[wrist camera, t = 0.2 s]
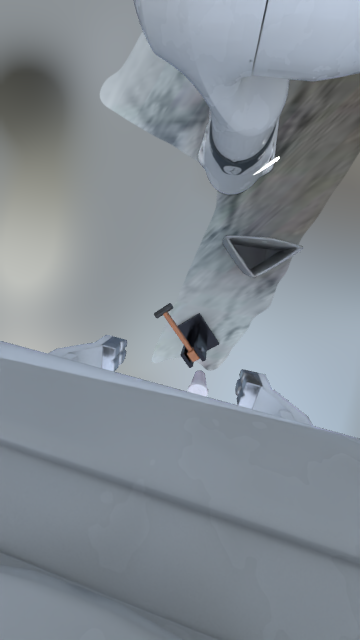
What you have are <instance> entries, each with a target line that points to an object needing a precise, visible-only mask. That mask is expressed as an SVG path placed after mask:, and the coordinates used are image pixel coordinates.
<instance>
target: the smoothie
mask: <svg viewBox="0 0 360 640" xmlns="http://www.w3.org/2000/svg"><path fill="white" fill-rule="evenodd" d="M188 392H191V393H194V394H198V395H202V396H205V397H207V396H208V389H207V386H206V378H205V373H204V372H203V371H196V372H195V375H194V377H193V380H192V382H191V384H190V386H189V387H188Z"/></svg>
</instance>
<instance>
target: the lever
mask: <svg viewBox="0 0 360 640" xmlns="http://www.w3.org/2000/svg"><path fill="white" fill-rule="evenodd" d="M171 309H173V306H172V304H171V303H169V304H168V305H166V306H165V307H163V308H162V309H160V310H159V311H157V312H155V313H154V315H155V317H156V318H159V317H160V316H162V315H164V316H165V318H166V319H167V321H168V322H169V324H170V325H171V327H172V328H173V330H174V331H175V332H176V334H177V335H178V337H179V338H180V340H181V341H182V343H183V344H184V345H185V347H186V348H187V350H188V352H187V355H188V356H189V358H190V359H191V361H192V362H194V361H196V360H198V359H200V357H199V356H198V354H197V353H196V351H195V350H194V347H193V348H192V347H191V345H190V344H189V342H188V341H187V339H186V338H185V337H184V335H183V334H182V332H181V331H180V329H179V328H178V326H177V325H176V323H175V322H174V321H173V319H172V318H171V316H170V315H169V313H168V311H170V310H171Z"/></svg>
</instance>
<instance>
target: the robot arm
mask: <svg viewBox="0 0 360 640" xmlns="http://www.w3.org/2000/svg"><path fill="white" fill-rule="evenodd" d="M133 1H134V5H135V8H136V12H137V16H138V19H139V22H140V25H141V27H142V30H143V32H144V35H145V37H146V39H147V41H148V43H149V45H150V47H151V49H152V50H153V52H154V53H155V54H156V55H157V56H159V57H160V58H162V59H163V60H165V61H167V62H168V63H170V64H171V65H172V66H174V67H175V68H176V69H178V70H179V71H180V72H181V73H182V74H183V75H184V76H186V77H187V79H188V80H189V81H190V82H191V83H192V84H193V85H194V86H195V88H196V89H197V90H198V91H199V93H200V94H201V95H202V97H203V98H204V100H205V101H206V103H207V104H208V106H209V108H210V112H209V117H210V120H209V123H208V125H207V126H206V130H205V135H204V138H203V141H202V144H201V147H200V150H199V152H198V161H199V163H200V164H201V165H202V167H203V168H204V169H205V171H206V174H207V176H208V179H209V181H210V183H211V184H212V186H213V187H214V188H215V189H216V190H218V191H219V192H221V193H224V194H238V193H241V192H243V191H245V190H247V189H248V188H250V187H251V186H252V185H253V184H254V183H255V182H256V181H257V180H258V179H259V178H260V177H261V176H263V175H265V174H267V173H269V172H270V171H271V170H272V168H273V166H274V162H276V161H277V160H278V159H279V157H277V158H276V159H275V150H276V141H277V133H278V124H279V116H280V114H281V112H282V110H283V107H284V105H285V102H286V99H287V95H288V90H289V79H292V80H302V81H320V80H326V79H333V78H339V77H344V76H348V75H353V74H357V73H360V0H133ZM269 160H270V162H269ZM126 346H127V340H124V339H121V338H117V337H113V336H110V335H105V336H104V337H102V338H101V339H99V340H98V341H96V342H95V343H87V344H81V345H76V346H70V347H64V348H58V349H55V350H53V351H52V352H50V353H48V354H47V353H44V352H40V351H36V350H32V349H29V348H25V347H21V346H18V345H14V344H10V343H7V342H3V341H0V640H360V438H356V437H352V436H349V435H345V434H342V433H338V432H334V431H330V430H327V429H323V428H320V427H316V426H313V424H312V423H311V421H310V419H309V418H308V416H307V415H306V414H304V413H303V412H302V411H300V410H299V409H298V408H297V407H295V406H294V405H293V404H291V403H290V402H289V401H288V400H287V399H285V398H284V397H283V396H281V395H280V394H279V393H278V392H277V391H275V390H273V389H272V388H271V386H270V383H269V381H268V379H267V377H266V375H265V374H260V373H257V372H252V371H248V370H243V369H242V370H241V372H240V374H239V375H240V379H239V380H237V383H236V389H235V391H236V395H237V396H238V397H237V404H238V405H235V404H231V403H227V402H223V401H220V400H216V399H213V398H209V397H205V396H202V395H198V394H194V393H191V392H187V391H183V390H180V389H176V388H172V387H168V386H164V385H161V384H158V383H153V382H150V381H146V380H143V379H139V378H135V377H132V376H128V375H124V374H121V373H117V372H115V370H116V369H117V368H118V365H119V364H122V363H123V361H124V359H125V356H126V350H125V347H126Z"/></svg>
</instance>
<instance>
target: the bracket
mask: <svg viewBox="0 0 360 640" xmlns="http://www.w3.org/2000/svg"><path fill="white" fill-rule="evenodd" d="M178 328H179V329H180V331H181V332H182V334H183V335H184V337H185V338H186V339H187V341H188V342H189V344H190V345H191V347H192V348H193V347H194V350H195V351H196V353H197V354H198V356H199V357H200V358H201V360H202V361H205V360H206V351H207V350H209V349H211V348H213V347H215V346H217V345H218V344H219V342H218V340H217V339H216V337H215V336H214V334H213V333H212V331H211V330H210V328H209V327H208V325H207V324H206V322H205V321H204V319H203V318H202V316H201V315H200V313H199V314H197V315H196V316H194V317H192V318H191V319H189V320H187V321H186V322H184V323H182V324H181V325H179V326H178ZM187 352H188V350H187V348H186V347H185V345H184V346H183V349H182V352H181V357H182V358H183V359H184V361H185V362H186V364H187V365H188V366H189V368H191V367H192V366H193V363H194V362H192V361H191V359H190V358H189V356H188V355H187Z"/></svg>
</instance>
